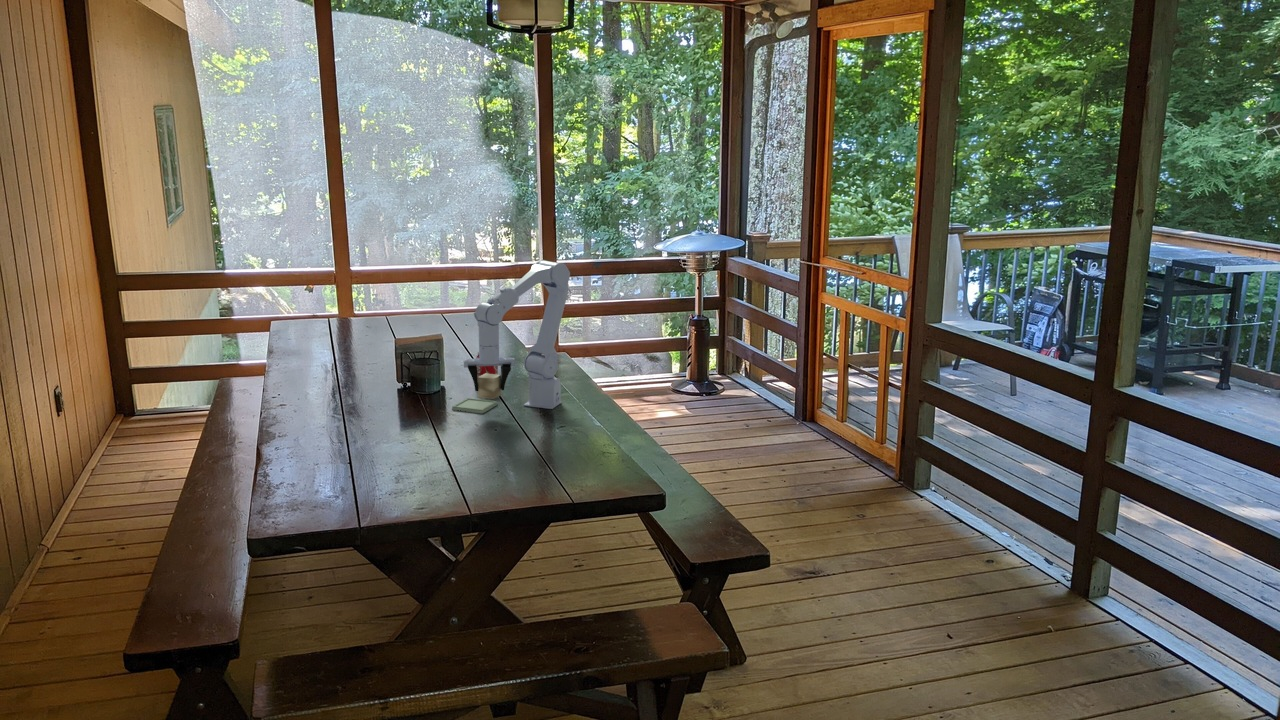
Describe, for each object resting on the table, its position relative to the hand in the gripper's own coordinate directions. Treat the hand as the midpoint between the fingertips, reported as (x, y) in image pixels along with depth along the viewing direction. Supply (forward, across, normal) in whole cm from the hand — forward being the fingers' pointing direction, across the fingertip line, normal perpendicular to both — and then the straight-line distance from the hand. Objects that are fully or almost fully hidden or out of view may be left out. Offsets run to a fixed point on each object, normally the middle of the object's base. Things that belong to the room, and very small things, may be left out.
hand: (489, 390), depth 271 cm
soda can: (+8, -2, -30) cm, 32 cm away
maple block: (+2, 0, 0) cm, 2 cm away
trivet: (+8, +3, -10) cm, 13 cm away
